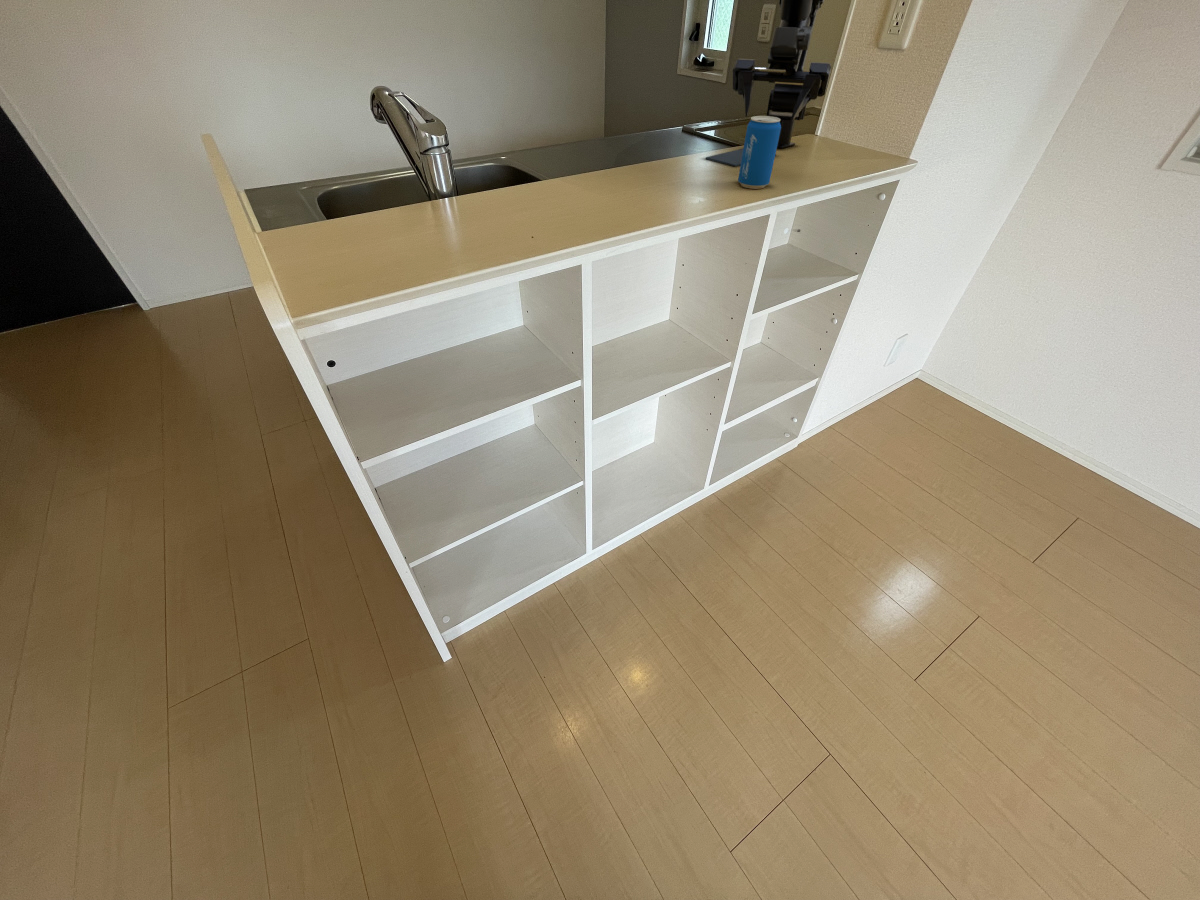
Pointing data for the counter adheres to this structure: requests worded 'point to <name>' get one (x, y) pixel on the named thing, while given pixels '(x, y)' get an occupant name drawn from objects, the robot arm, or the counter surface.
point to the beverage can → (759, 151)
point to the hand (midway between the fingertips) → (769, 117)
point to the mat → (728, 158)
